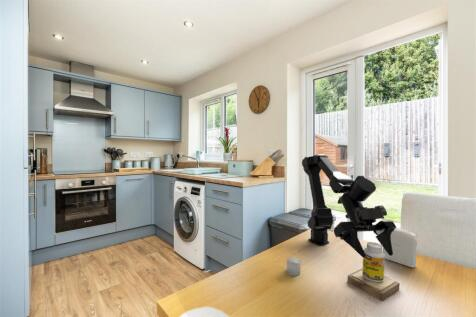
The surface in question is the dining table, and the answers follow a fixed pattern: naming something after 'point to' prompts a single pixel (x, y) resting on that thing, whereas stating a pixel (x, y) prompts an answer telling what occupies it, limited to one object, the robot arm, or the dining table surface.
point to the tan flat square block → (374, 285)
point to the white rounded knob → (293, 266)
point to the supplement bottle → (373, 262)
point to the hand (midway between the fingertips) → (378, 256)
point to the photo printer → (403, 247)
